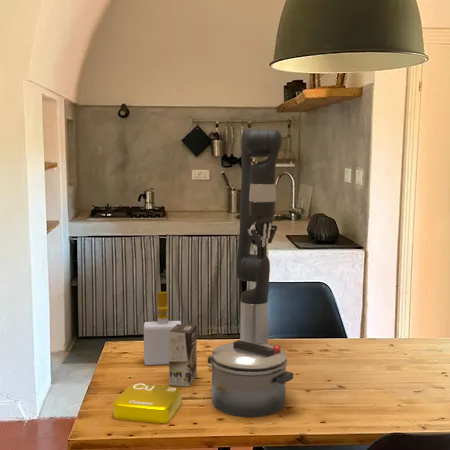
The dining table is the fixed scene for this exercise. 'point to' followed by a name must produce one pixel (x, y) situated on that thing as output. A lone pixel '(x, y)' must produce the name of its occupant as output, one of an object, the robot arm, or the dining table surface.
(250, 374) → the cooker pot
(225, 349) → the cooker lid
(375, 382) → the dining table surface
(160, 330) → the soap bottle
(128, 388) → the element tile
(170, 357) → the coffee box
